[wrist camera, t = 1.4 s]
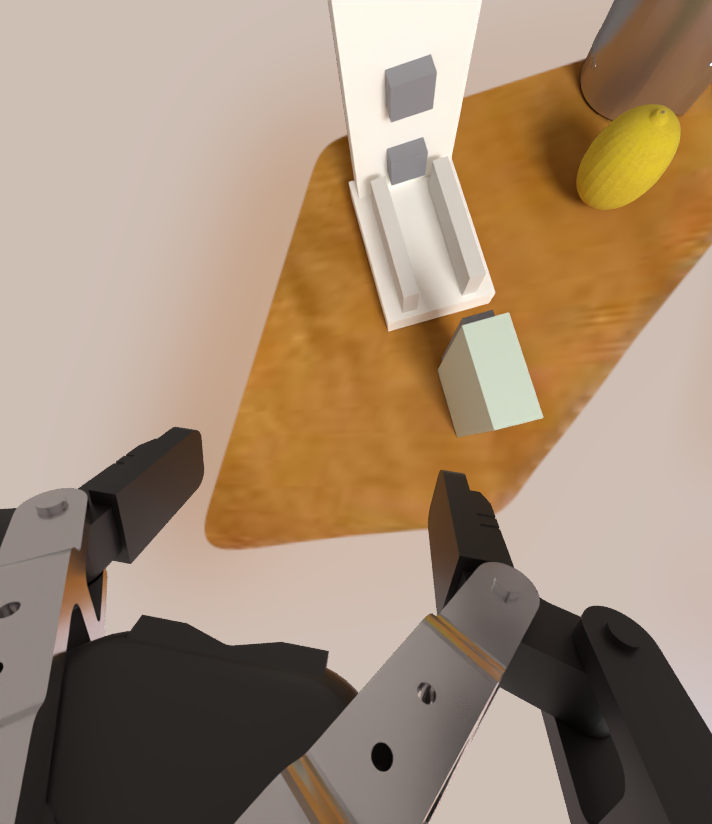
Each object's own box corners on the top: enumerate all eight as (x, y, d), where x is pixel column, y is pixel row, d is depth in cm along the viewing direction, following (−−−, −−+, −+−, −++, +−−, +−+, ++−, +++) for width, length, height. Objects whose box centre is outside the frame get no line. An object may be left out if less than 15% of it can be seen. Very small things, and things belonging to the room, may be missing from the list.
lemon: (620, 166, 30) (701, 65, 22) (632, 225, 30) (719, 143, 22) (554, 176, 31) (610, 82, 23) (564, 234, 30) (625, 158, 22)
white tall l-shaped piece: (488, 303, 30) (834, -233, 6) (388, 331, 31) (369, -59, 7) (445, 168, 32) (592, -640, 8) (351, 198, 33) (238, -467, 9)
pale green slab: (487, 429, 29) (543, 417, 18) (457, 437, 29) (494, 430, 18) (464, 354, 30) (505, 300, 19) (435, 362, 30) (458, 313, 19)
